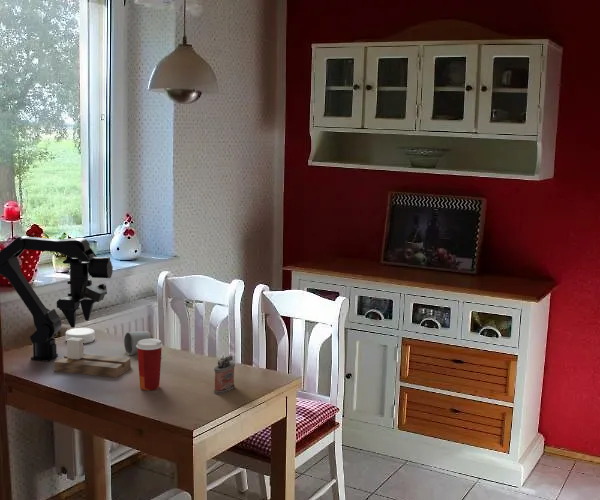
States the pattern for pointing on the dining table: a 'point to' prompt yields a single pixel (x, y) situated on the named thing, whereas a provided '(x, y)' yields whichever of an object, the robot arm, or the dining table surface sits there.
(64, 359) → the fader track
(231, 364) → the lighter
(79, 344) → the fader tab
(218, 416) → the dining table surface
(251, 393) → the dining table surface
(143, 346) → the paper cup
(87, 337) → the white bowl
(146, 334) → the ceramic mug
